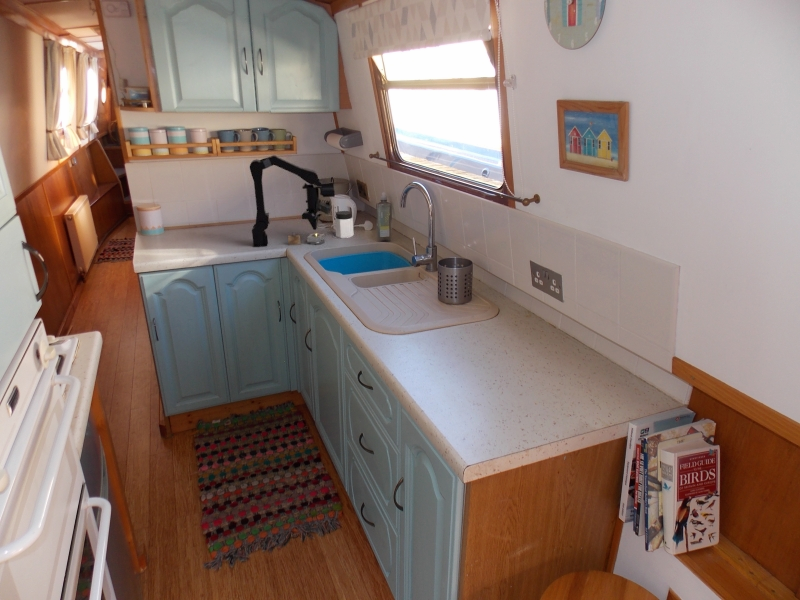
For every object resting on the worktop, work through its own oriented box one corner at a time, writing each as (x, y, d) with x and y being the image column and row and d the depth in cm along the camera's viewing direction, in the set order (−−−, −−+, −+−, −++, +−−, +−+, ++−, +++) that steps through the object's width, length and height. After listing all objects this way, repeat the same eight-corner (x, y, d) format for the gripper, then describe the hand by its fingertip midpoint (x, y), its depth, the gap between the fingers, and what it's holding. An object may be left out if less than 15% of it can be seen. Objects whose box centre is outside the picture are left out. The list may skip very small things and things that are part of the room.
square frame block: (307, 241, 271) (307, 236, 270) (311, 238, 277) (311, 233, 277) (320, 242, 270) (320, 237, 269) (324, 238, 276) (324, 233, 276)
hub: (309, 245, 270) (308, 235, 268) (307, 241, 277) (306, 231, 275) (325, 244, 272) (325, 234, 270) (323, 239, 279) (322, 230, 277)
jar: (356, 236, 285) (355, 212, 280) (343, 239, 280) (342, 215, 275) (346, 233, 291) (345, 210, 287) (333, 235, 286) (331, 212, 282)
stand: (288, 245, 270) (287, 233, 268) (288, 243, 272) (287, 232, 270) (300, 244, 272) (299, 233, 270) (300, 243, 274) (299, 231, 272)
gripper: (323, 202, 258) (325, 235, 264) (334, 194, 275) (336, 225, 281) (300, 201, 260) (302, 234, 265) (312, 193, 277) (314, 224, 282)
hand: (314, 229), depth 273 cm, fingers closed
